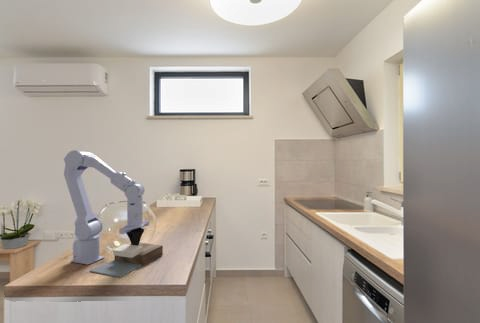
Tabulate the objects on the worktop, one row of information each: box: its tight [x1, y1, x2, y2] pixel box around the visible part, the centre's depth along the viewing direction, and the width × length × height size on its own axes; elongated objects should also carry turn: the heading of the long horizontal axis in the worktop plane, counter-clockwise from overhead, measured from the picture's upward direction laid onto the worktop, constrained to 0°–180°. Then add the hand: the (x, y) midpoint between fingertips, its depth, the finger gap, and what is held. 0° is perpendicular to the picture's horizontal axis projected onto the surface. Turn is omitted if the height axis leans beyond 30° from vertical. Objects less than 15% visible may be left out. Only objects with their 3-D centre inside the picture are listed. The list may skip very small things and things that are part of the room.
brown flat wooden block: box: [114, 242, 164, 267], centre depth 108 cm, size 14×12×4 cm
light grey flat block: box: [112, 243, 143, 258], centre depth 102 cm, size 9×6×2 cm, turn 69°
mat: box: [89, 259, 143, 278], centre depth 97 cm, size 14×11×1 cm
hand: (135, 247), depth 106 cm, fingers closed
